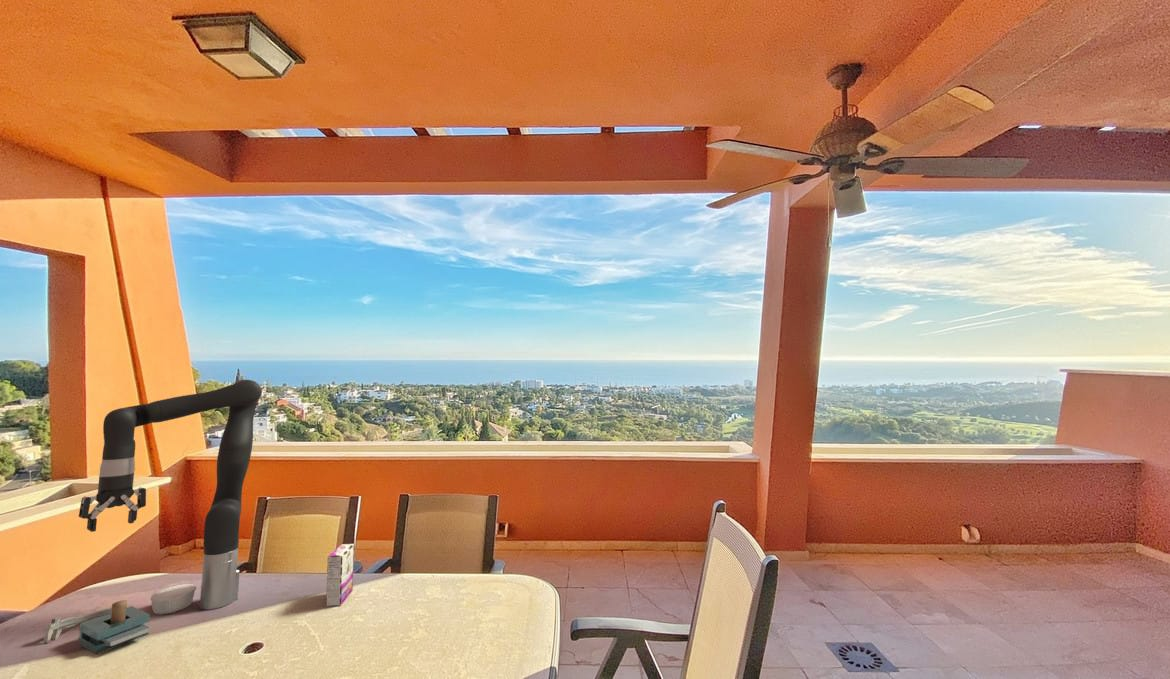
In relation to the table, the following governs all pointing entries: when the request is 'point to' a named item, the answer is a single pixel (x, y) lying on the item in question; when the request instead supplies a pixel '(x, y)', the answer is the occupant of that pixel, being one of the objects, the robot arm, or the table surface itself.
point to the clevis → (113, 630)
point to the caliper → (69, 623)
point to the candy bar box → (339, 575)
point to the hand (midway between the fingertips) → (112, 527)
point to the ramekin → (172, 598)
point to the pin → (118, 611)
